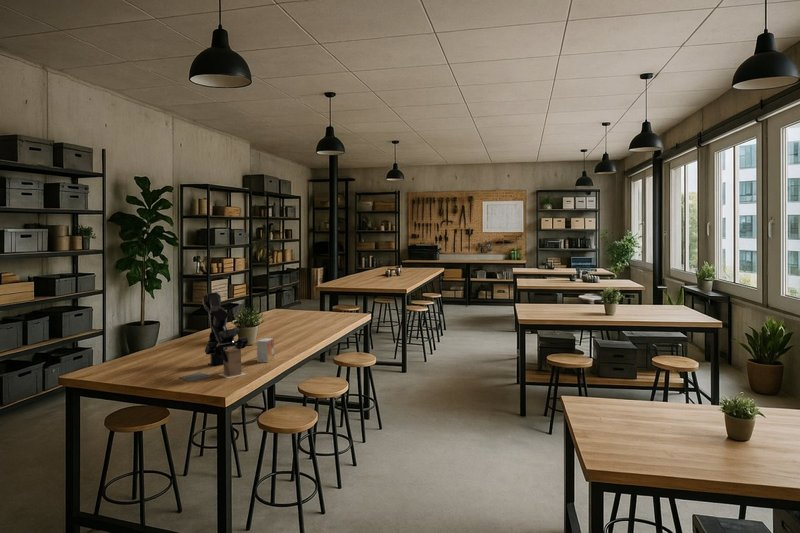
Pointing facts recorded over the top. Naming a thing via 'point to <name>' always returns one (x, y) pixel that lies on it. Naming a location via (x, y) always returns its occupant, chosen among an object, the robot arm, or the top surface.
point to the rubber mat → (195, 377)
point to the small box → (265, 350)
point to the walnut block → (232, 362)
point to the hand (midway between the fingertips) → (233, 360)
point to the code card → (231, 376)
